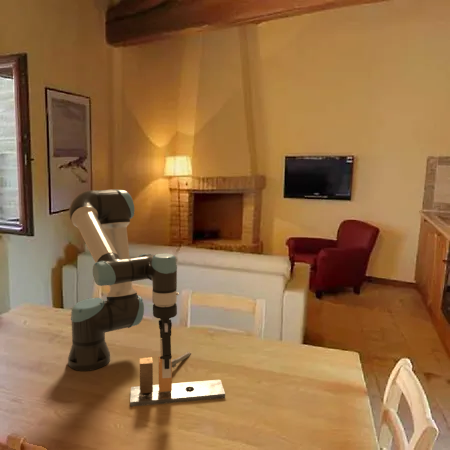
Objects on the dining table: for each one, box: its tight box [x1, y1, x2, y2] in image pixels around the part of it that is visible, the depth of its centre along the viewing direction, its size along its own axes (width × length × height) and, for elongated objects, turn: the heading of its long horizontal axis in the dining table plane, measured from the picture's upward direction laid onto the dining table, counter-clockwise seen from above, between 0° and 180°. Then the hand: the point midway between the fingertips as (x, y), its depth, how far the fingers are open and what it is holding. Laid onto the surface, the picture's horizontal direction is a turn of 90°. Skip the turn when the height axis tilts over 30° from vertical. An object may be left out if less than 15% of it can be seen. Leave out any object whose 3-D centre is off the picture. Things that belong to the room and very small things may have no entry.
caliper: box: [171, 351, 192, 369], centre depth 158 cm, size 20×1×6 cm, turn 160°
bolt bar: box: [129, 356, 226, 408], centre depth 138 cm, size 9×30×13 cm, turn 101°
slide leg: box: [158, 356, 173, 392], centre depth 137 cm, size 4×4×11 cm
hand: (165, 367), depth 136 cm, fingers open, 13 cm apart
